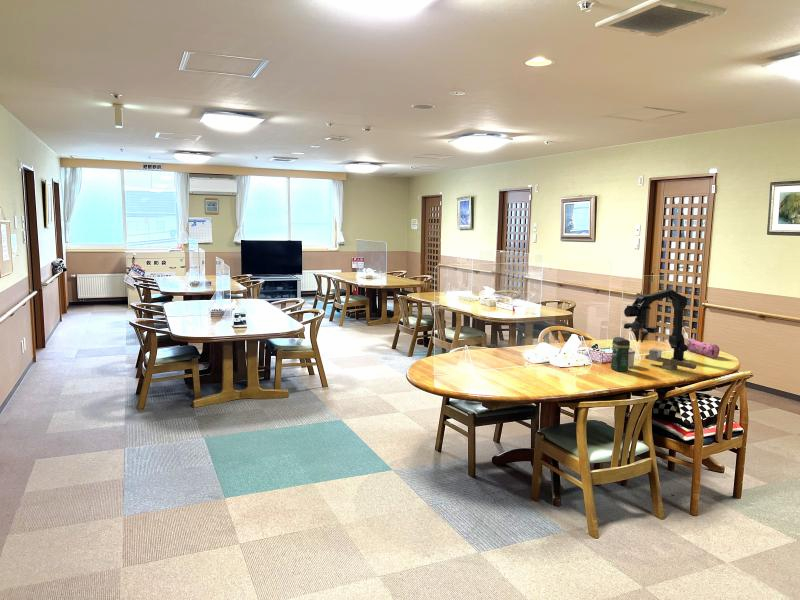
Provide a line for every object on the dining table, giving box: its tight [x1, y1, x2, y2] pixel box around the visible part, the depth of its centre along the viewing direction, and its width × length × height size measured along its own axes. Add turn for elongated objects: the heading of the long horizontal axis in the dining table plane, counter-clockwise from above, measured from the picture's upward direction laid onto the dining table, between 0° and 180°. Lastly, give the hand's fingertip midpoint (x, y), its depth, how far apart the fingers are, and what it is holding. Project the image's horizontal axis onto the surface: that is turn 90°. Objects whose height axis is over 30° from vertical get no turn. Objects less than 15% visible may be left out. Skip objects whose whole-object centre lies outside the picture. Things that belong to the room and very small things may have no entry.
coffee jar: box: [610, 336, 631, 373], centre depth 334 cm, size 10×8×19 cm
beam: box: [644, 354, 698, 371], centre depth 340 cm, size 6×28×5 cm, turn 42°
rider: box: [648, 348, 663, 362], centre depth 346 cm, size 5×5×6 cm
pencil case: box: [685, 337, 720, 359], centre depth 374 cm, size 21×9×9 cm, turn 17°
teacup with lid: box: [628, 347, 636, 368], centre depth 344 cm, size 12×9×12 cm
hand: (639, 342), depth 352 cm, fingers open, 2 cm apart
